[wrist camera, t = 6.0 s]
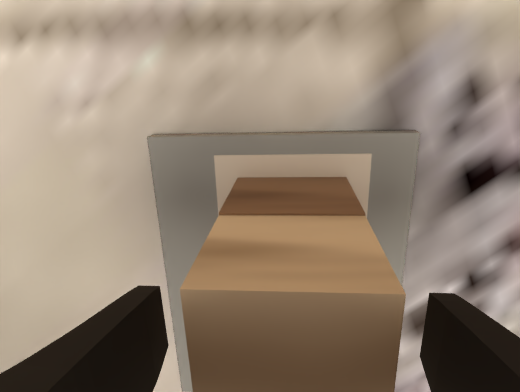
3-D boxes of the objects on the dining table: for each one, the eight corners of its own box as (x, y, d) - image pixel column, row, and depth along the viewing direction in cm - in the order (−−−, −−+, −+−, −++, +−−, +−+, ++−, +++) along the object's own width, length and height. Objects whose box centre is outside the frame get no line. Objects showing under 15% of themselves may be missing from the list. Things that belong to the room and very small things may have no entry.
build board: (385, 392, 19) (388, 404, 18) (185, 382, 20) (181, 393, 19) (415, 130, 14) (421, 133, 13) (152, 134, 15) (146, 137, 14)
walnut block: (341, 272, 16) (356, 335, 12) (242, 270, 16) (227, 330, 12) (346, 176, 14) (365, 213, 10) (237, 177, 15) (218, 213, 11)
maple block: (356, 336, 12) (386, 456, 8) (227, 332, 12) (199, 444, 9) (365, 215, 10) (406, 294, 7) (218, 215, 11) (179, 289, 7)
